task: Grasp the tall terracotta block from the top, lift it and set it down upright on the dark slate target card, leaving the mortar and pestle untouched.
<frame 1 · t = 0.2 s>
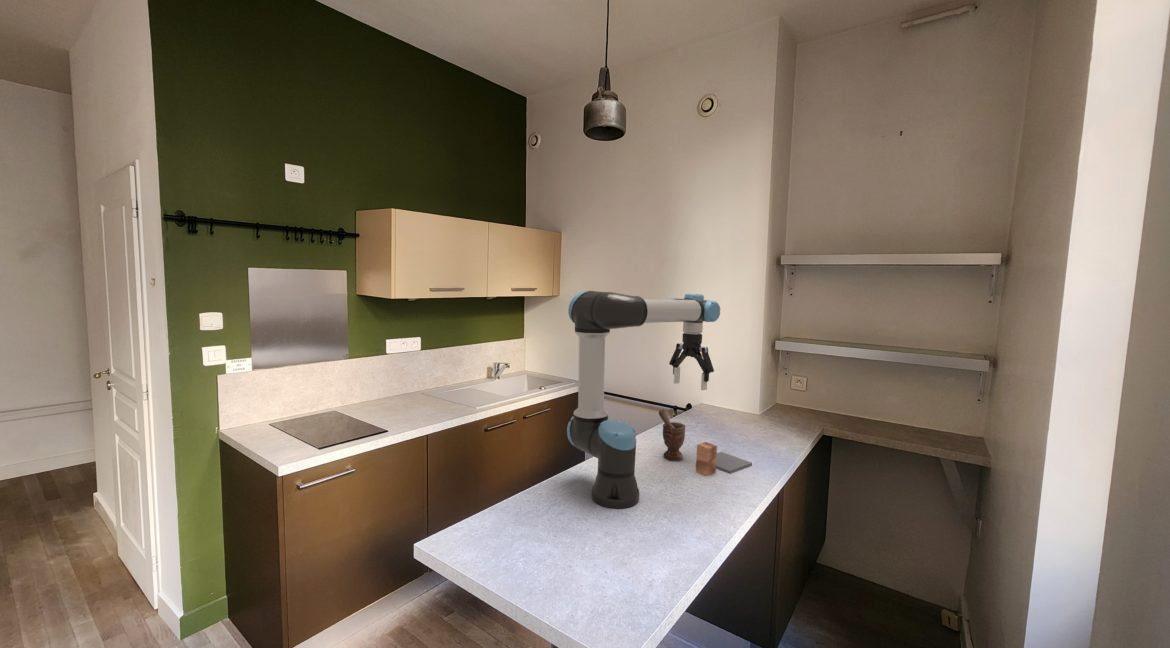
hand: (689, 386, 185), 28 cm above the countertop, tool pointing down, fingers open, 13 cm apart
mortar and pestle: (670, 459, 183), on the countertop
terracotta block: (705, 471, 171), on the countertop
slate card: (725, 463, 180), on the countertop
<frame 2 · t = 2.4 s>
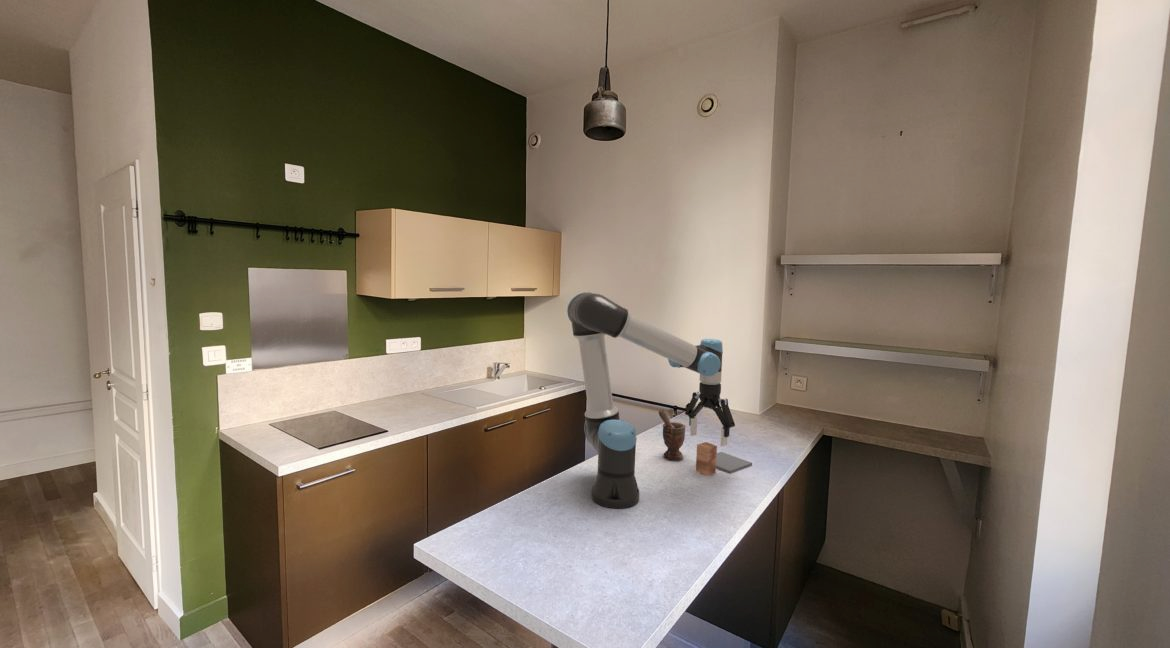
hand: (708, 440, 170), 12 cm above the countertop, tool pointing down, fingers open, 13 cm apart
nothing on the countertop moved.
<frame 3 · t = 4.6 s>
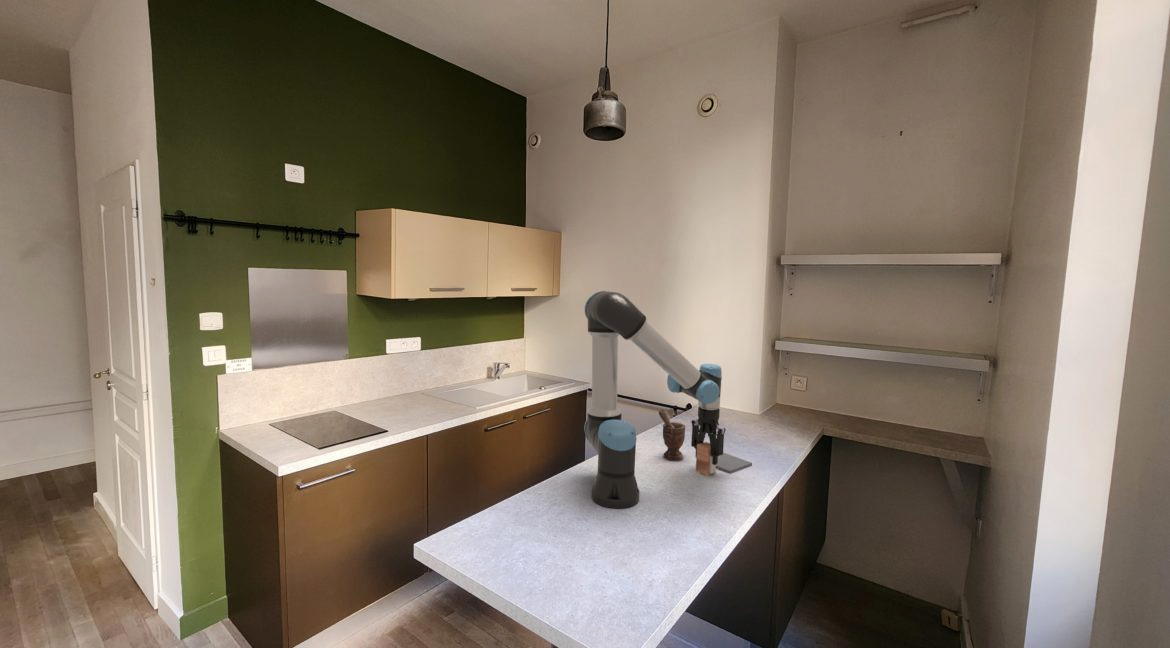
hand: (705, 469, 171), 1 cm above the countertop, tool pointing down, fingers closed on terracotta block, 5 cm apart
terracotta block: (705, 471, 171), on the countertop, touching gripper
everything else where it was.
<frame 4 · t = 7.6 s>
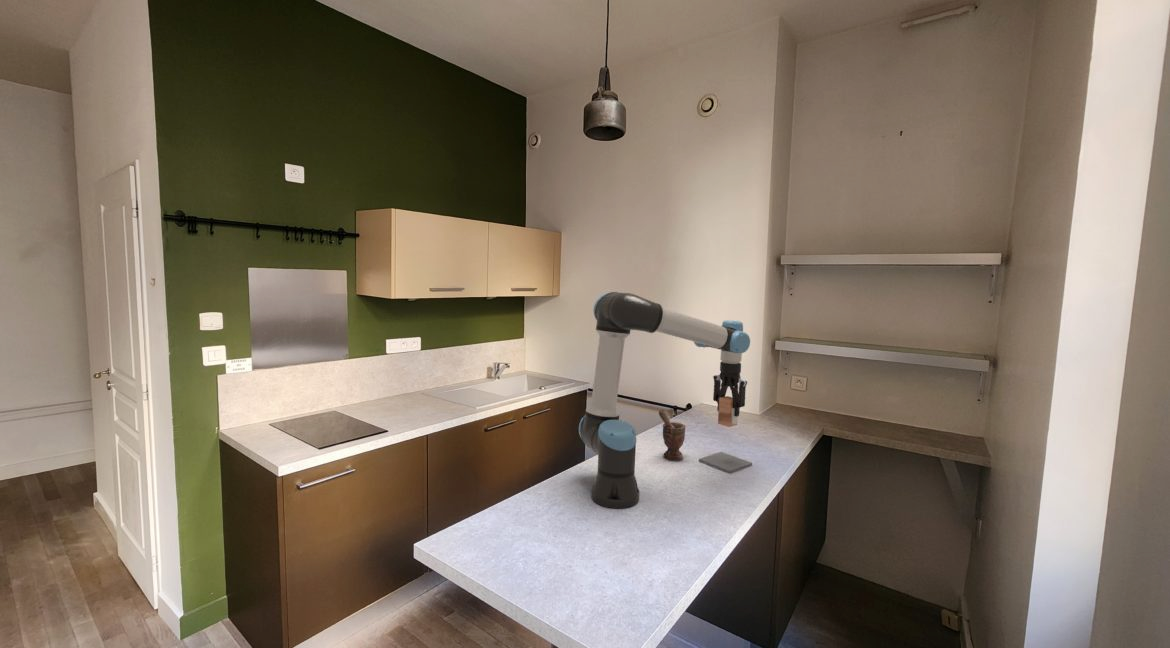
hand: (727, 422, 178), 16 cm above the countertop, tool pointing down, fingers closed on terracotta block, 5 cm apart
terracotta block: (727, 424, 178), point 15 cm above the countertop, touching gripper
everything else where it was.
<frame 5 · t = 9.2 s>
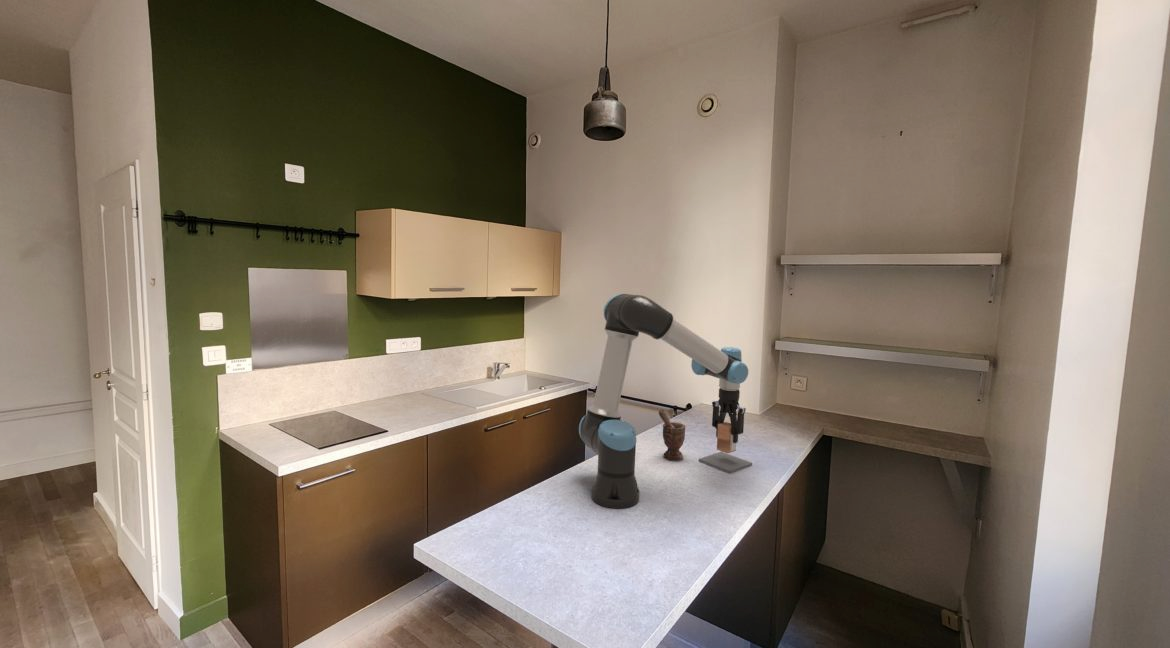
hand: (726, 448, 179), 6 cm above the countertop, tool pointing down, fingers closed on terracotta block, 5 cm apart
terracotta block: (726, 450, 179), point 5 cm above the countertop, touching gripper
everything else where it was.
when the fingers open (3 cm above the countertop, at t = 10.5 s): terracotta block drops 1 cm, resting on slate card.
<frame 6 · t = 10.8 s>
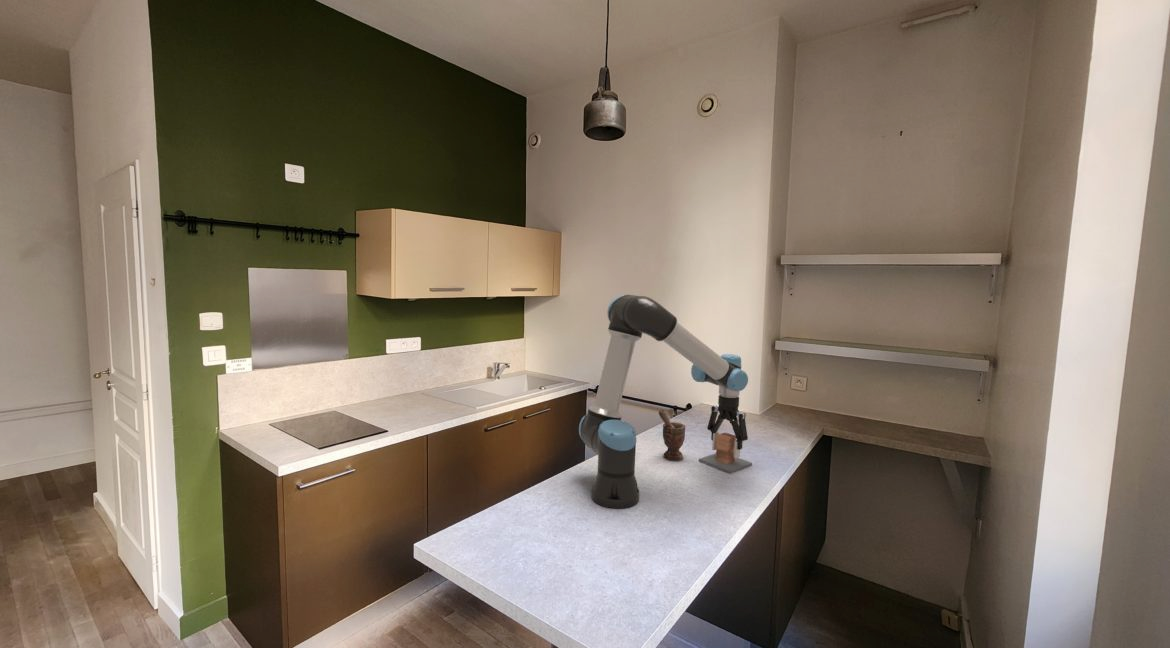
hand: (725, 453, 179), 4 cm above the countertop, tool pointing down, fingers open, 9 cm apart
terracotta block: (725, 460, 180), point 1 cm above the countertop, touching slate card
everything else where it was.
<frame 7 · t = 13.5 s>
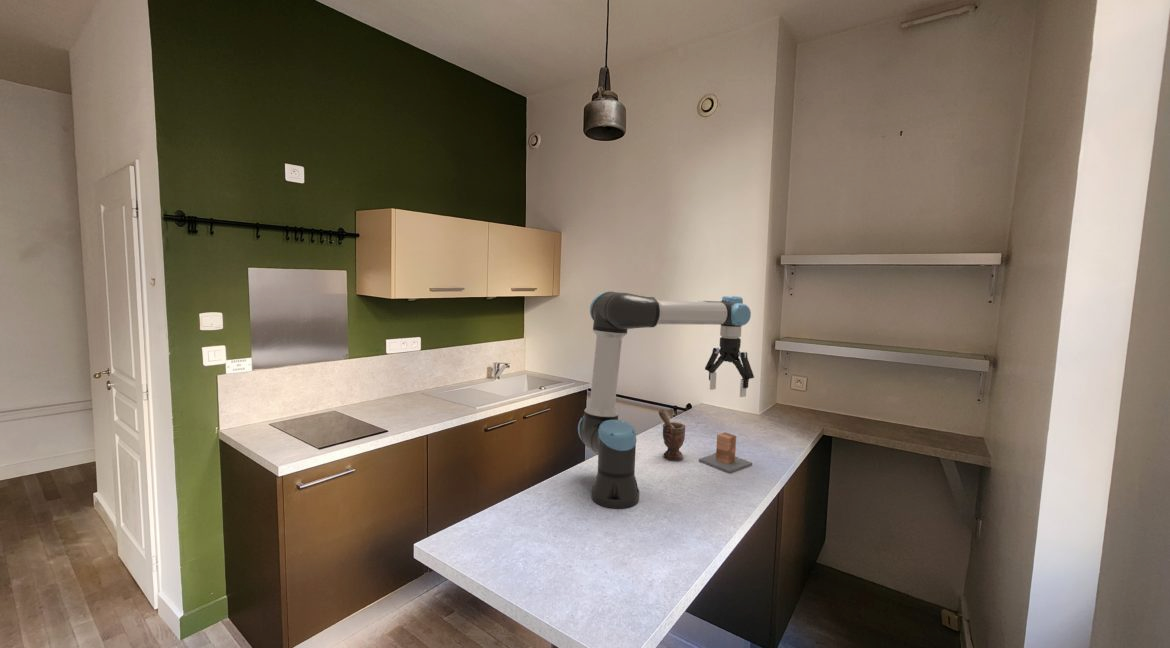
hand: (727, 392, 178), 27 cm above the countertop, tool pointing down, fingers open, 13 cm apart
nothing on the countertop moved.
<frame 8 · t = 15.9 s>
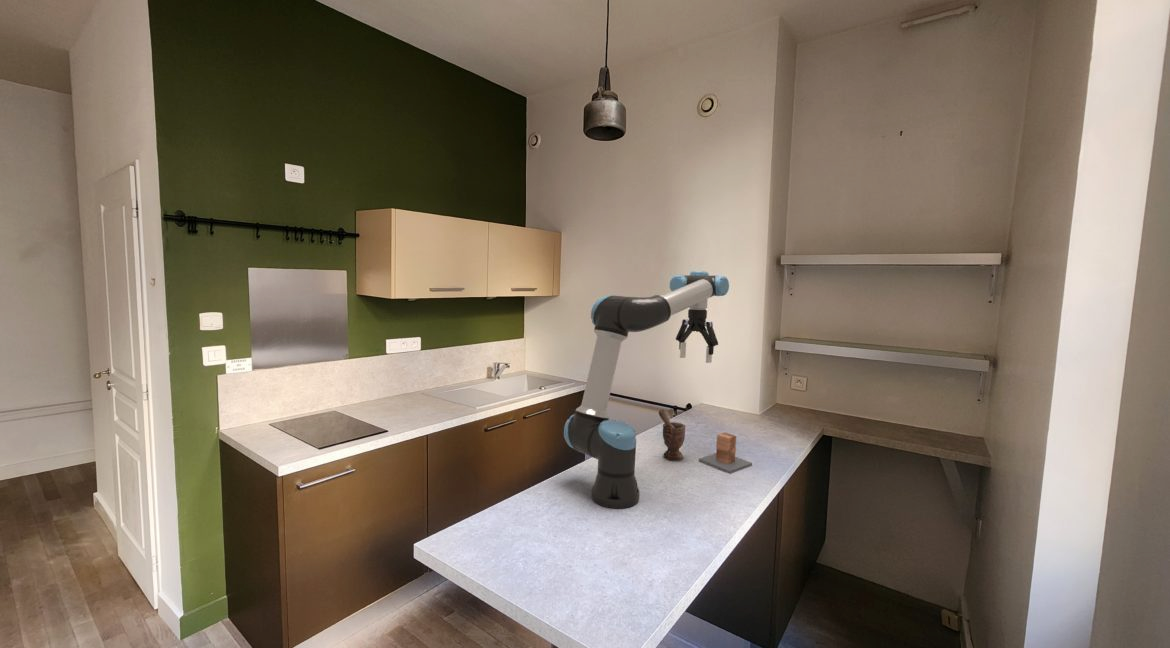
hand: (695, 360, 195), 37 cm above the countertop, tool pointing down, fingers open, 13 cm apart
nothing on the countertop moved.
at the end: terracotta block inside the target area on the slate card (0.0 cm from its centre), point 1.0 cm above the slate card's base; terracotta block tilted 0°; the gripper is holding nothing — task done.
